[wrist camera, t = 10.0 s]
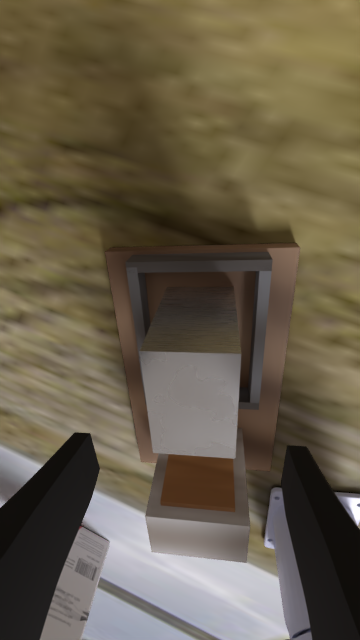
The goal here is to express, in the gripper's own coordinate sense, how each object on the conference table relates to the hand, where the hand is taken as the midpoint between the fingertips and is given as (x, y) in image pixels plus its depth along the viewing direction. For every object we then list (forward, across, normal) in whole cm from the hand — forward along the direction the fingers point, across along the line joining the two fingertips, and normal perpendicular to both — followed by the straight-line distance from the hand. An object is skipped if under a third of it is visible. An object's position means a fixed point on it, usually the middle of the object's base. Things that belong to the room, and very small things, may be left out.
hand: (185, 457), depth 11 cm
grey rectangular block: (+9, 0, 0) cm, 9 cm away
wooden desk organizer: (+10, 0, +4) cm, 11 cm away
